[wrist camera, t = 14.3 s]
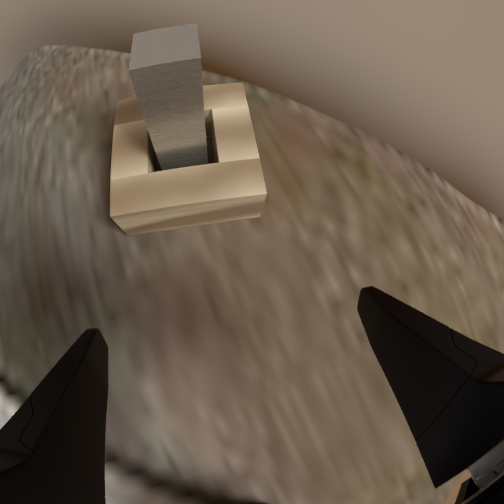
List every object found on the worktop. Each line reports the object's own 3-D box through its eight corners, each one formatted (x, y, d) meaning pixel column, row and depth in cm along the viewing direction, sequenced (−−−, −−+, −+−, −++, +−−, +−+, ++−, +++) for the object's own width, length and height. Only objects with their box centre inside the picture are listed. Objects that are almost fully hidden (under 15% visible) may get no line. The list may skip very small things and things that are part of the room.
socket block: (259, 216, 25) (266, 193, 21) (128, 235, 24) (110, 216, 19) (239, 114, 28) (242, 82, 23) (128, 130, 26) (116, 101, 22)
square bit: (209, 178, 25) (201, 57, 12) (167, 184, 24) (128, 70, 12) (204, 143, 26) (196, 23, 13) (164, 149, 25) (133, 33, 13)
